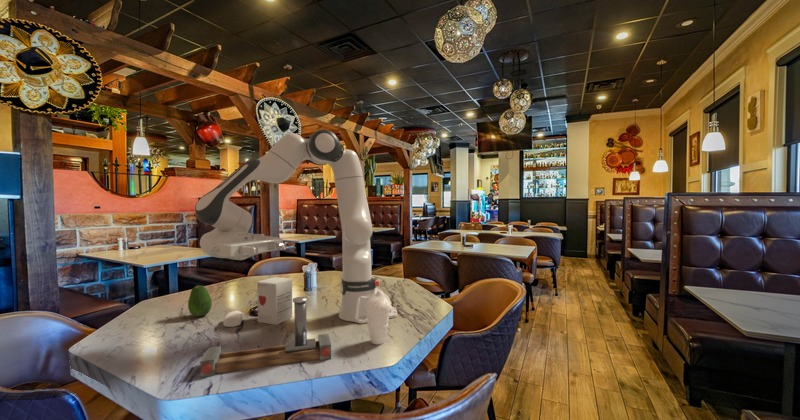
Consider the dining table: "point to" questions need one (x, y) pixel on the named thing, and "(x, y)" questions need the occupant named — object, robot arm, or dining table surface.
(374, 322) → the soft serve ice cream cone
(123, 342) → the dining table surface
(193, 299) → the avocado
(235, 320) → the eye dropper bottle
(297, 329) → the carriage
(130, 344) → the dining table surface
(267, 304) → the supplement box
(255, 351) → the rail
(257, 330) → the dining table surface
